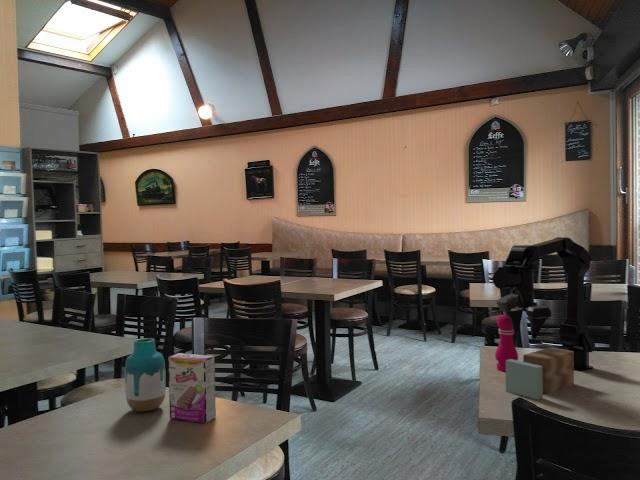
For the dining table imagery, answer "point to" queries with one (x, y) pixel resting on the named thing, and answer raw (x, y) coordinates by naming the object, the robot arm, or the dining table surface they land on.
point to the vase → (145, 376)
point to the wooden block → (553, 367)
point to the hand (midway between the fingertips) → (524, 335)
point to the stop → (524, 379)
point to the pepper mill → (505, 342)
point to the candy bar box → (192, 387)
